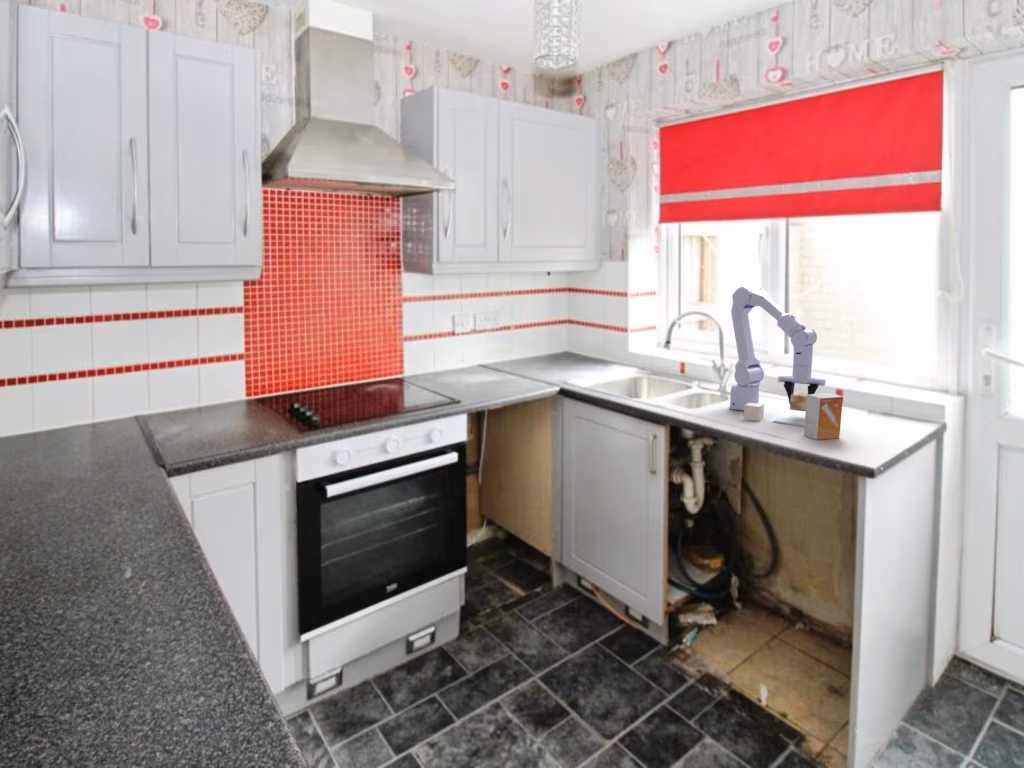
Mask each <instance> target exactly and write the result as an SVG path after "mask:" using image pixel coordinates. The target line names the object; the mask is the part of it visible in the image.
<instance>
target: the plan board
mask: <svg viewBox="0 0 1024 768" xmlns="http://www.w3.org/2000/svg"><path fill="white" fill-rule="evenodd" d="M773 423H775V424H782V425H783V424H784V425H790V426H798V427H805V413H800V412H791V411H784V412H783V413H782V414H780V415H778V417H776V418H775V419H774V420H773Z"/></svg>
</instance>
